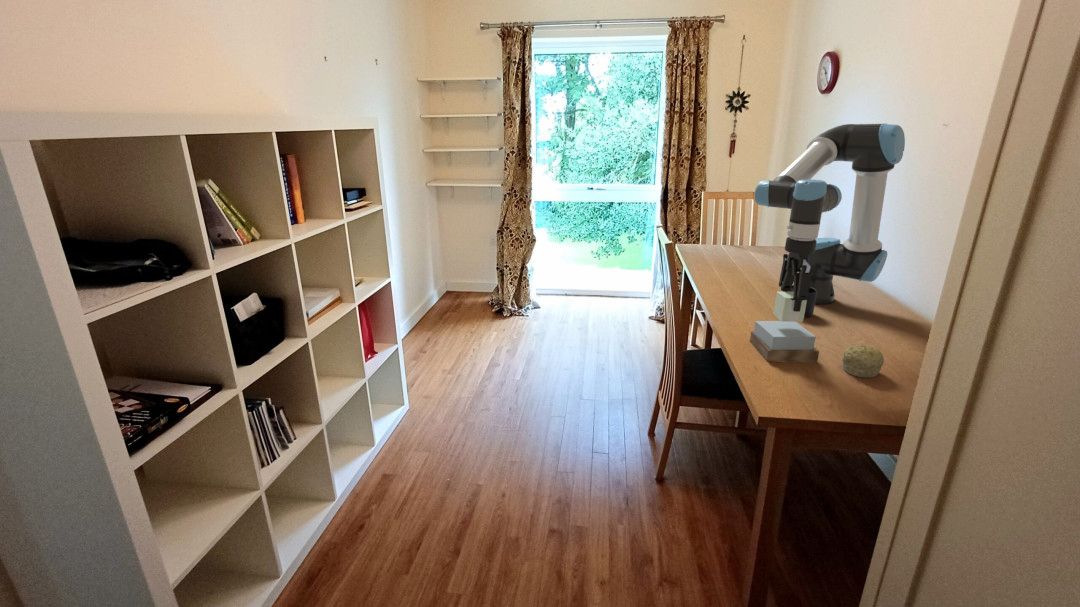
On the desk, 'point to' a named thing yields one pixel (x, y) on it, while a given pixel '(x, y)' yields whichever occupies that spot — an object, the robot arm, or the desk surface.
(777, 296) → the block
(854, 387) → the desk surface
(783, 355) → the bottom slab
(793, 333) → the top slab
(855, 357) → the decorative item
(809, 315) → the mug
